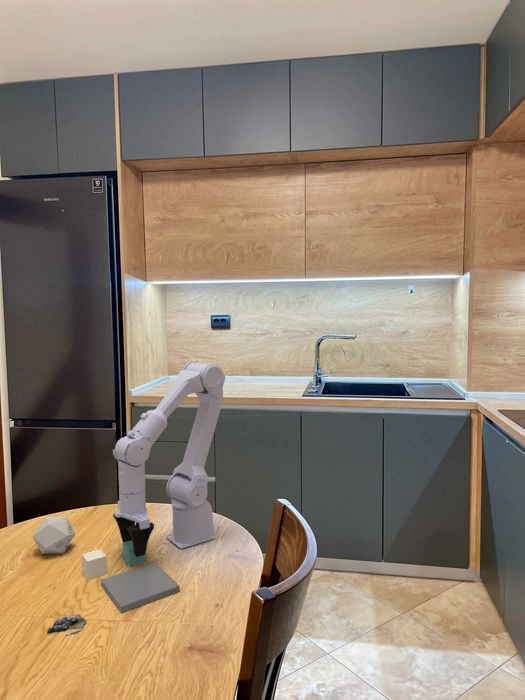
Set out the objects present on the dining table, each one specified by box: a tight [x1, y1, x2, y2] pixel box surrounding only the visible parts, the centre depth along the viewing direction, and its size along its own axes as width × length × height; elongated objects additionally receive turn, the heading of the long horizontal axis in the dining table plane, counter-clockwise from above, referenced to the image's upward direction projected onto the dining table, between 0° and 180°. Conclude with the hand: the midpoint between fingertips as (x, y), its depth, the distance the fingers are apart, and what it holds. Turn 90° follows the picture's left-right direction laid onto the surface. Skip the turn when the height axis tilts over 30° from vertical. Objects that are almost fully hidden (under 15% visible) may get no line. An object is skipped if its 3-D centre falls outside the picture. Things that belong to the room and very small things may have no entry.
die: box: [32, 516, 76, 555], centre depth 117 cm, size 8×9×10 cm
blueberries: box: [46, 613, 87, 636], centre depth 88 cm, size 7×8×2 cm
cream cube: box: [81, 548, 108, 580], centre depth 107 cm, size 4×4×4 cm
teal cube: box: [122, 540, 147, 567], centre depth 112 cm, size 4×4×4 cm
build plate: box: [100, 561, 181, 614], centre depth 100 cm, size 12×12×1 cm
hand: (133, 549), depth 112 cm, fingers open, 7 cm apart
